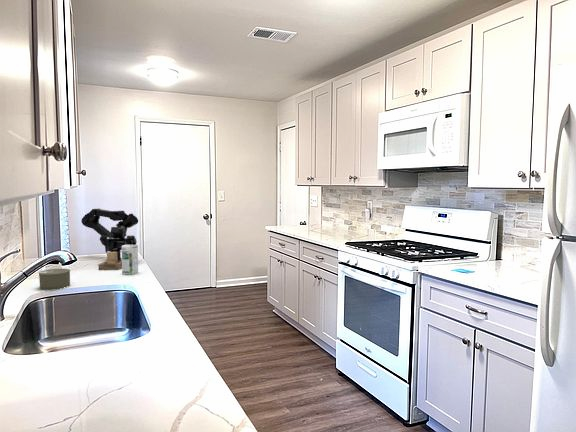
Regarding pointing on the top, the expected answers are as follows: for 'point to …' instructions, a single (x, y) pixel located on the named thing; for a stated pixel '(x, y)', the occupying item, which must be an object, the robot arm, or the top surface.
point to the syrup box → (129, 259)
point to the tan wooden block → (112, 258)
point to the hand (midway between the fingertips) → (114, 252)
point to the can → (54, 279)
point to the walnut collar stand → (110, 266)
